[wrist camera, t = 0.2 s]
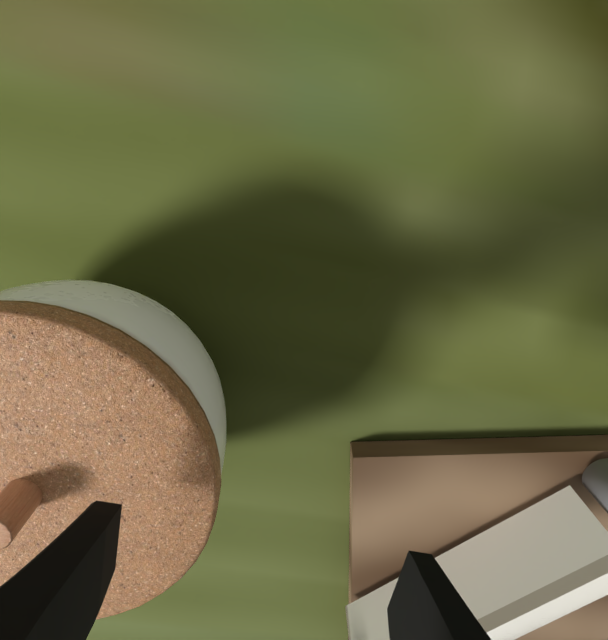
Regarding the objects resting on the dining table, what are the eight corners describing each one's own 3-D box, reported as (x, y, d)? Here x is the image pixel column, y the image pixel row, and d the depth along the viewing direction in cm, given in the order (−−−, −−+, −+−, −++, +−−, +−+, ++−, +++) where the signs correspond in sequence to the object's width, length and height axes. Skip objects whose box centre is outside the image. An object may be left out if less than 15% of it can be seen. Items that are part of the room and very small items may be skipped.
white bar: (613, 451, 20) (693, 528, 16) (629, 478, 21) (712, 560, 17) (340, 599, 23) (349, 697, 19) (361, 620, 24) (374, 720, 19)
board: (608, 656, 27) (669, 757, 23) (347, 663, 27) (358, 766, 22) (671, 433, 22) (767, 506, 17) (350, 441, 22) (363, 517, 17)
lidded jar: (-19, 235, 19) (-308, 314, 10) (252, 261, 19) (213, 358, 10) (11, 462, 22) (-179, 669, 13) (239, 479, 23) (201, 690, 14)
